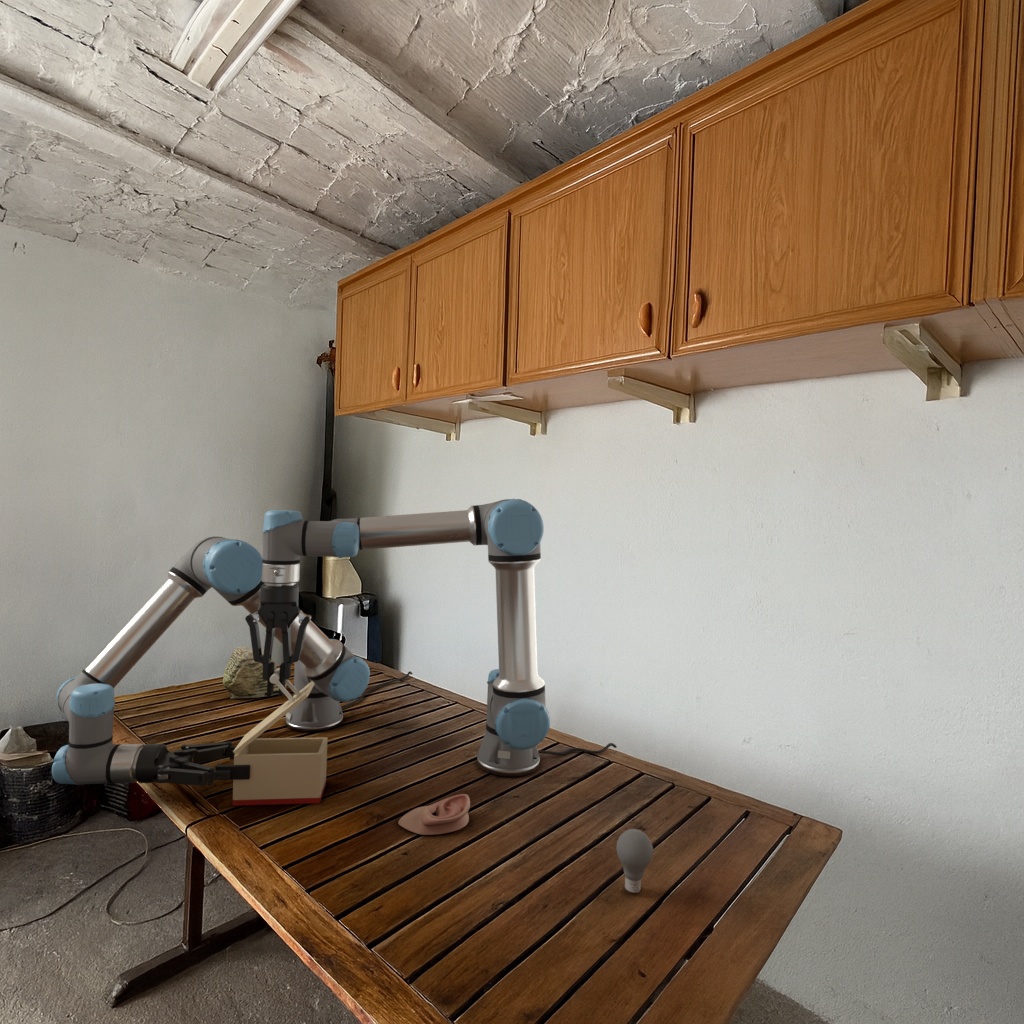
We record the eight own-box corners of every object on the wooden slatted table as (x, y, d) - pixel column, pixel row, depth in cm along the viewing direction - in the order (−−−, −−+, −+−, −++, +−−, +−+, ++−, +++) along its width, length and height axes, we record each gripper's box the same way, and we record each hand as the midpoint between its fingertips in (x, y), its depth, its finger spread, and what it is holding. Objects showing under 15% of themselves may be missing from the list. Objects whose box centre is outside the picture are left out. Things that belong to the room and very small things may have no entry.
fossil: (218, 695, 195) (220, 647, 195) (278, 685, 208) (279, 640, 207) (228, 703, 189) (230, 653, 188) (289, 692, 201) (290, 645, 201)
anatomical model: (392, 810, 121) (414, 784, 132) (391, 830, 121) (413, 803, 132) (459, 820, 118) (475, 792, 130) (458, 841, 118) (474, 812, 130)
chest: (326, 783, 140) (327, 737, 140) (319, 803, 131) (321, 754, 131) (244, 785, 138) (246, 738, 137) (232, 805, 128) (233, 755, 128)
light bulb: (610, 879, 108) (613, 822, 108) (644, 879, 109) (647, 822, 109) (619, 902, 102) (622, 840, 102) (655, 901, 103) (658, 840, 103)
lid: (315, 683, 139) (291, 656, 138) (307, 696, 130) (282, 668, 129) (247, 737, 137) (223, 710, 137) (235, 755, 128) (209, 726, 127)
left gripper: (162, 759, 141) (267, 758, 144) (115, 807, 119) (240, 804, 123) (163, 726, 141) (268, 725, 144) (116, 767, 119) (242, 766, 122)
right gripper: (238, 585, 128) (234, 700, 129) (313, 586, 131) (309, 700, 131) (248, 580, 136) (244, 689, 136) (319, 581, 138) (314, 689, 138)
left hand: (255, 761), depth 133 cm, fingers closed on chest, 9 cm apart
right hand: (275, 694), depth 134 cm, fingers closed on lid, 2 cm apart
